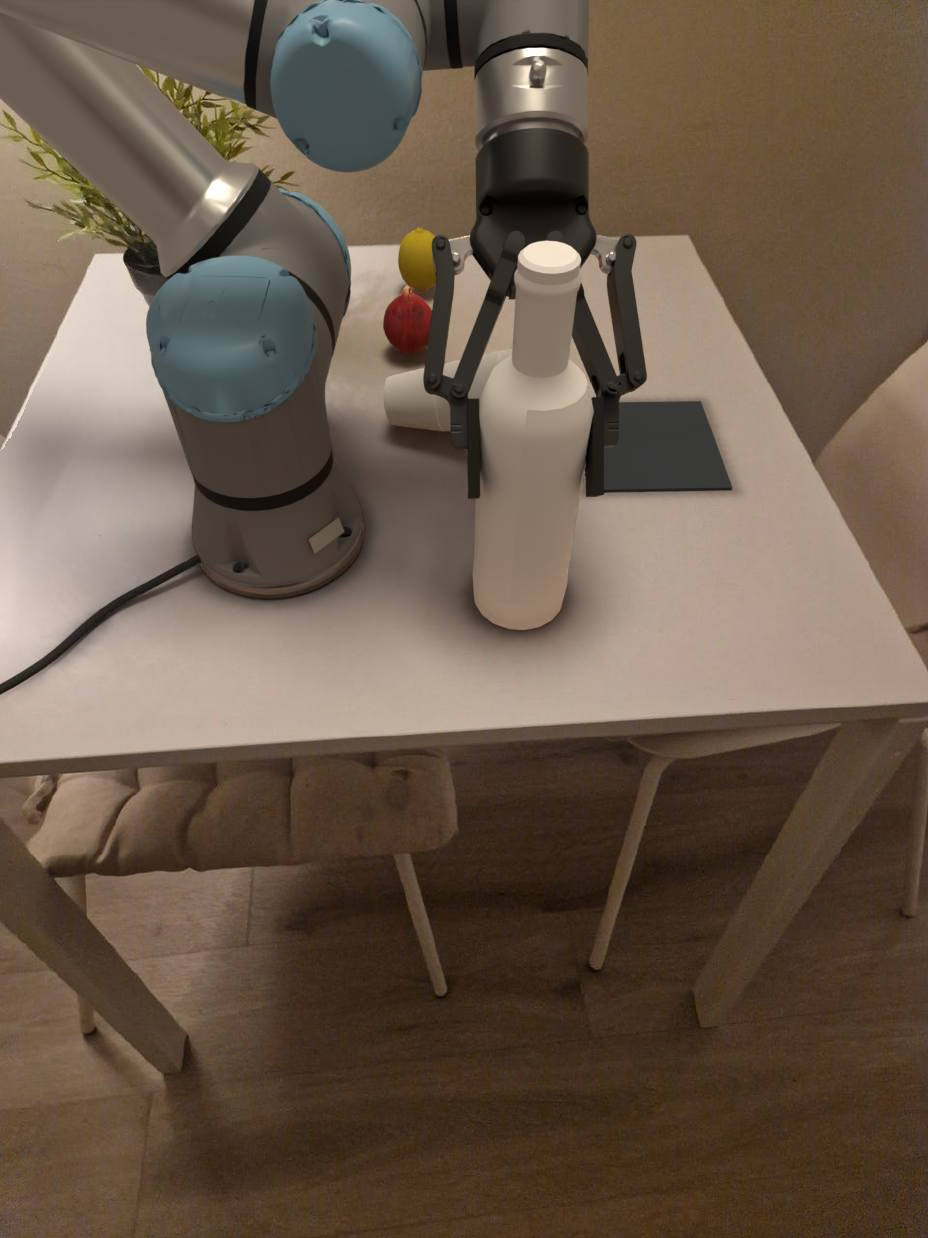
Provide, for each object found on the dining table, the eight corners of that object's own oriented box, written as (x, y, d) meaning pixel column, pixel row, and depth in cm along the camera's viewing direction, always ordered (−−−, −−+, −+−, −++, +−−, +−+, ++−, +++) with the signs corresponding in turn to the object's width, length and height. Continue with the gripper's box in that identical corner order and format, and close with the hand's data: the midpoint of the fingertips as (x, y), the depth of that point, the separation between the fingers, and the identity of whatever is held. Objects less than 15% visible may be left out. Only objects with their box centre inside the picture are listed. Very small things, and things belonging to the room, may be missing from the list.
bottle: (565, 566, 71) (618, 225, 48) (563, 635, 66) (622, 292, 43) (476, 559, 71) (485, 218, 48) (467, 628, 66) (473, 284, 43)
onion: (442, 361, 91) (441, 295, 85) (395, 372, 90) (390, 305, 83) (425, 335, 94) (423, 270, 88) (379, 345, 93) (373, 279, 87)
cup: (388, 323, 80) (568, 311, 76) (411, 408, 88) (574, 401, 84) (366, 390, 74) (560, 380, 70) (393, 475, 82) (568, 471, 78)
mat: (589, 492, 77) (589, 489, 77) (572, 404, 86) (572, 402, 86) (731, 489, 77) (732, 487, 77) (700, 403, 86) (701, 400, 86)
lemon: (395, 284, 102) (391, 220, 96) (436, 278, 103) (435, 214, 97) (406, 306, 98) (402, 241, 92) (449, 299, 100) (448, 235, 93)
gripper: (371, 121, 49) (382, 496, 51) (703, 120, 49) (698, 491, 52) (381, 176, 56) (389, 501, 59) (669, 175, 57) (666, 497, 59)
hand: (534, 496), depth 55 cm, fingers closed on bottle, 8 cm apart
